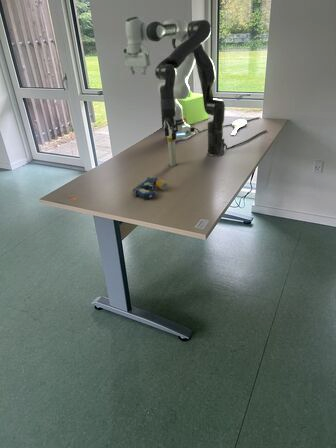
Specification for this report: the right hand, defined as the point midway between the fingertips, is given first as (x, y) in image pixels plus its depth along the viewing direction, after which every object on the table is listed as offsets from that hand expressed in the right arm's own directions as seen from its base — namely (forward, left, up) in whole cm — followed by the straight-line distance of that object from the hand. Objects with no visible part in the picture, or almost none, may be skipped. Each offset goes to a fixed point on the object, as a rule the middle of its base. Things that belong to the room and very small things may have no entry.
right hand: (170, 137), depth 180 cm
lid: (-6, -12, -4) cm, 14 cm away
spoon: (-80, -47, -21) cm, 95 cm away
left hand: (-4, -48, +27) cm, 55 cm away
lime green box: (-66, -96, -21) cm, 118 cm away
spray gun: (+20, +14, -21) cm, 32 cm away
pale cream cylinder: (-6, -12, -21) cm, 25 cm away
